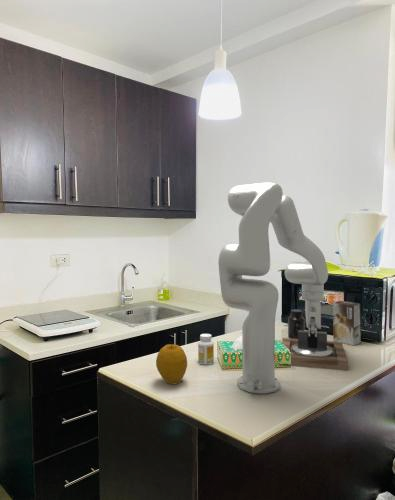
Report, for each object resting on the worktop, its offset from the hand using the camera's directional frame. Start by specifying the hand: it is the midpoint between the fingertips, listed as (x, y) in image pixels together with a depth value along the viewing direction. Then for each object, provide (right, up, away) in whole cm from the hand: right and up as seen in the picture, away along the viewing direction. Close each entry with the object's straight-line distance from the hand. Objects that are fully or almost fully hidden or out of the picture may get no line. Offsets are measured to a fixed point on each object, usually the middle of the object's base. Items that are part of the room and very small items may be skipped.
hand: (312, 344), depth 139 cm
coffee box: (+19, -4, +18) cm, 27 cm away
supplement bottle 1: (-39, -5, -4) cm, 39 cm away
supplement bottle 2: (0, -3, +23) cm, 23 cm away
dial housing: (0, -5, 0) cm, 5 cm away
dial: (0, -3, 0) cm, 3 cm away
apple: (-50, -7, -21) cm, 54 cm away
